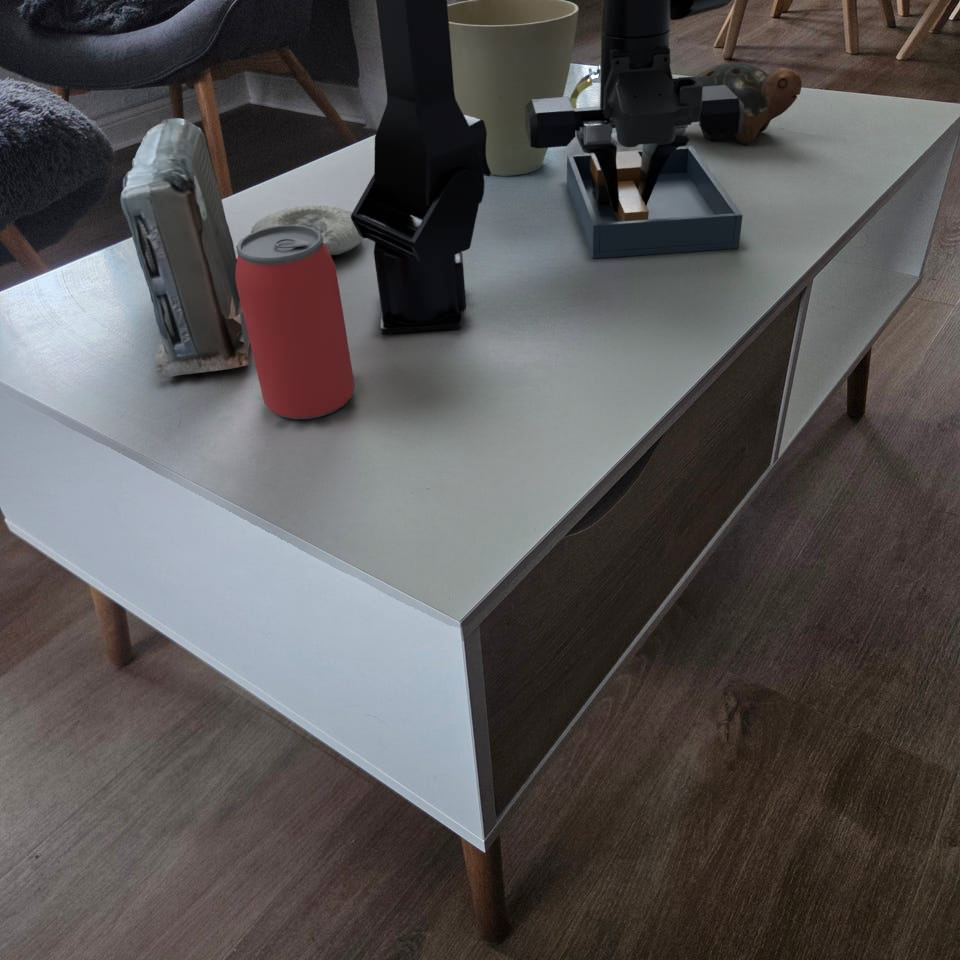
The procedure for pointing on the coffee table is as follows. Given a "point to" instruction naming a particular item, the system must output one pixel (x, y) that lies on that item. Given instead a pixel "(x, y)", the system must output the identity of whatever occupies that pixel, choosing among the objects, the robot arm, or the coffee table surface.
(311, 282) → the beer can
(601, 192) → the brush
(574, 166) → the tray
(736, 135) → the decorative turtle
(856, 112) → the coffee table surface
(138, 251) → the radio
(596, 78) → the ring
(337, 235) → the fossil
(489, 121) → the plant pot
